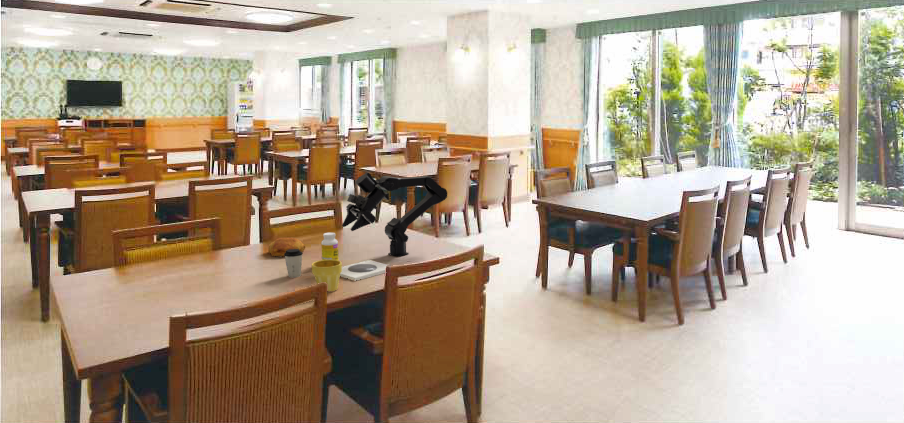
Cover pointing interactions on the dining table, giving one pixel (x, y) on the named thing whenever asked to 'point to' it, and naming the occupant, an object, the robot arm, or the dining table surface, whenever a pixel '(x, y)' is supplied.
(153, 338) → the dining table surface
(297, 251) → the coffee cup
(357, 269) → the mount base
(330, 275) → the plant pot
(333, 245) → the supplement bottle
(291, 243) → the croissant
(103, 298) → the dining table surface
